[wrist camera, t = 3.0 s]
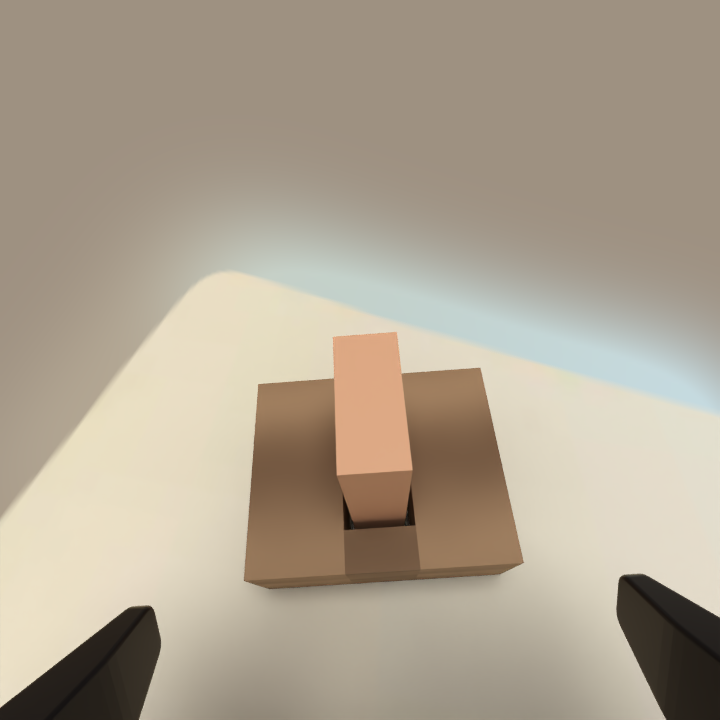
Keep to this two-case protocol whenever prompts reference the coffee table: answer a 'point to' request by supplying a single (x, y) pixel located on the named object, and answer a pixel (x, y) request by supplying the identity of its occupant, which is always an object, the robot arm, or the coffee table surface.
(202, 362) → the coffee table surface
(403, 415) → the rectangular block
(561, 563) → the coffee table surface
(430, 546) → the slot box
